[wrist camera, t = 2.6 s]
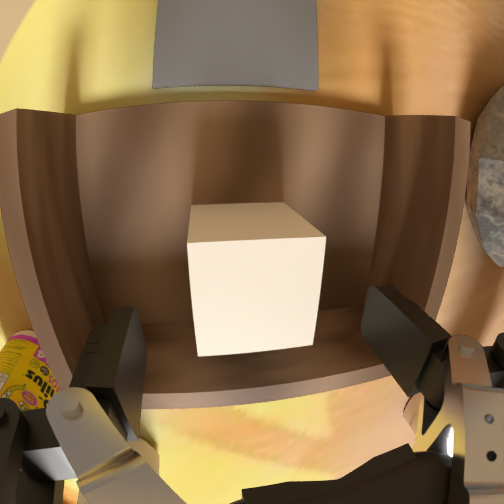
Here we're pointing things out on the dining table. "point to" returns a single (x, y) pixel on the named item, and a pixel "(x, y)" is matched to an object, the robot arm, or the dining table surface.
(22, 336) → the supplement bottle
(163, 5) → the slate mat
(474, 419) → the robot arm
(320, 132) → the walnut box
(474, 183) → the decorative stone
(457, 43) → the dining table surface
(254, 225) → the cream block
